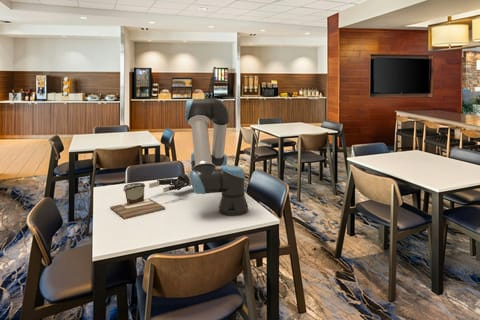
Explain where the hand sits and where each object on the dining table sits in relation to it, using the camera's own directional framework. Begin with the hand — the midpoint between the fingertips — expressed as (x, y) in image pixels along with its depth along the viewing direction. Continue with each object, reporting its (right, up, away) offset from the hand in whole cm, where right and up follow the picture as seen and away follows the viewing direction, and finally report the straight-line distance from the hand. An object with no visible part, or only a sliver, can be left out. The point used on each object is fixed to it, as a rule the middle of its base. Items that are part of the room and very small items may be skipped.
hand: (156, 187), depth 203 cm
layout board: (-7, -10, -13) cm, 18 cm away
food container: (-11, -8, -6) cm, 15 cm away
